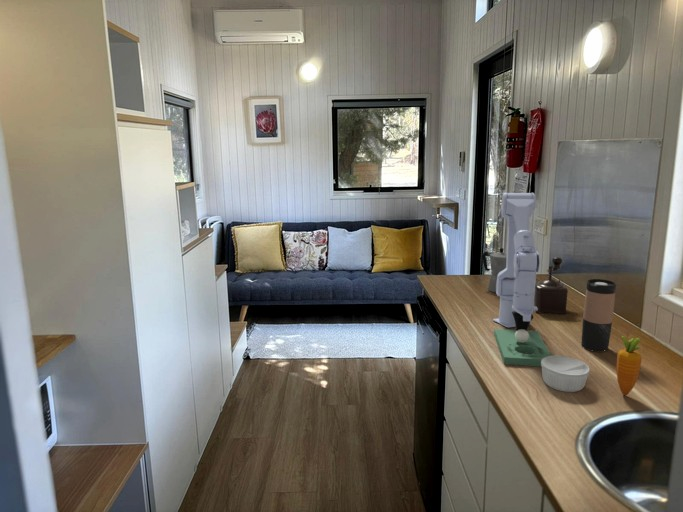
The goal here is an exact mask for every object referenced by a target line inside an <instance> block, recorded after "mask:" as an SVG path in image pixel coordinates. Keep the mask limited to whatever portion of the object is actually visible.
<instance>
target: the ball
mask: <svg viewBox="0 0 683 512" xmlns="http://www.w3.org/2000/svg"><path fill="white" fill-rule="evenodd" d="M527 331H528V330H527ZM527 331H526V330H524V329H519V330H517V331H516V333H515V339H516V340H517V341H518V342H520V343H525V342H527V341H528V339H529V334H528V332H527Z"/></svg>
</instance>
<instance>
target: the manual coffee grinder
mask: <svg viewBox="0 0 683 512" xmlns="http://www.w3.org/2000/svg"><path fill="white" fill-rule="evenodd" d="M551 263H552V264H553V265H548V269H546V272H547V273H548V278H547V279H544V280H541V281H540V280H539V281H538V280H536V282H535V294H534V306H536V307H537V308H538V310H537V311H534V313H536V314H549V315H550V314H551V315H566V314H567V303H568V302H567V301H568V294H569V293H568V292H569V291H568V288H567V287H566V286H565V284H564V283H562V281H561V279H559V280H556V279H554V278H552V275H553V272H554V271H555V272H558V271H559V270H561V269H562V268H561V266H562V265H563V263H564V259H562V258H561V257H560V256H559V257H553V258H552V259H551Z"/></svg>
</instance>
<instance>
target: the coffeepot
mask: <svg viewBox="0 0 683 512" xmlns="http://www.w3.org/2000/svg"><path fill="white" fill-rule="evenodd" d="M486 256H487V257H489V260H490V268H488V262H487V257H486ZM506 259H507V252H504V248H503V247H499V252H493V251H487V250H486V251H484V252H483V253H482V254H481V260H482V264H483V267H484V270H485V271H486V272H490V271H491V275H490V279H489V283H488V288H487V290H488V291H489V292H491V293H495V294H496V282H497V275H498V273H499V272H501V271H502V270H504V269H505V268H506ZM505 278H510V277H505Z"/></svg>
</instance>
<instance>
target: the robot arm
mask: <svg viewBox="0 0 683 512" xmlns="http://www.w3.org/2000/svg"><path fill="white" fill-rule="evenodd" d="M536 206H537V198H536V194H535V193H534V192H503V194H502V196H501V206H500V215H501V218H503V219H504V220H506V223H507V232H506V233H507V239H506V240H507V241H506V253H507V259H506V268H505V269H504V270H502V271H501V272H499V273H498V275H497V282H496V293H495V294H496V295H497V297H499V309H498V310H499V311H498V318H493V319H492V321H494V323H498V324H499V325H501V326H503V327H506V328H509V329H510V328H515V330H516V331H517V330H519V329H524V330H526V331H528V329H529V326H530V325H531V322H532V321H533V319H534V315H533V313H534V312H535V311H537V310H538V308H537V307H536V306H534V294H535V282H536V281H537V273H538V272H539V269H540V265H541V258H540V253H539V251H538V249H536V244H535V243H536V242H535V235H534V233H533V232H531V231H530V218H531V216H532V215H533V213H534V212H535V209H536ZM505 277H509V278H505Z"/></svg>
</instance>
